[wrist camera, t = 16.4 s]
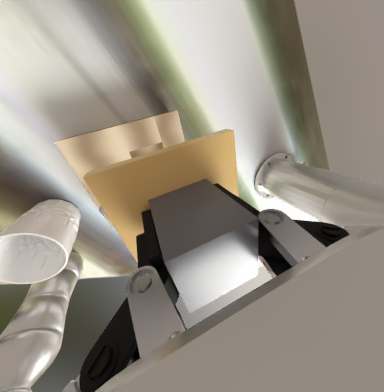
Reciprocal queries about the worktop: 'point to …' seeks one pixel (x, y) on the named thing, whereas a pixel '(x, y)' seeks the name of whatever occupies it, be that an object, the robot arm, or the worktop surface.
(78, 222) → the white cup
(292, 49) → the worktop surface
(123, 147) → the socket block
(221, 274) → the plug
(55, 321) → the plastic bottle
